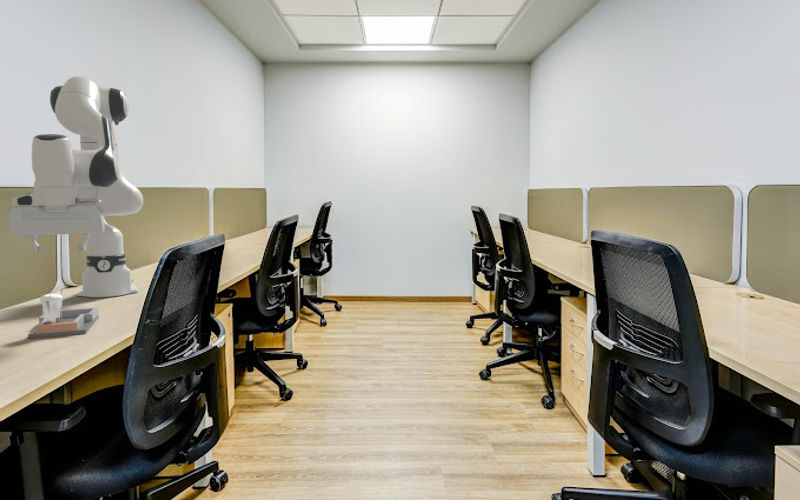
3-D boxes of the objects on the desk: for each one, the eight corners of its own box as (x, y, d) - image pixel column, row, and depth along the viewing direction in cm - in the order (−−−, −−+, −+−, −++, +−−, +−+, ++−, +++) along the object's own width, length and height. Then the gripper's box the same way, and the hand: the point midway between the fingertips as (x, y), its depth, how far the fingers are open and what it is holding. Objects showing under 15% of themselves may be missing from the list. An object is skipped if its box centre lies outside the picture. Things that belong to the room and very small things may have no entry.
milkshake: (71, 327, 126) (69, 288, 125) (51, 332, 121) (48, 292, 120) (59, 325, 128) (56, 287, 127) (38, 330, 123) (35, 291, 122)
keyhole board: (48, 321, 136) (47, 311, 135) (98, 317, 140) (97, 307, 140) (28, 338, 119) (27, 326, 119) (85, 333, 124) (85, 321, 124)
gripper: (105, 197, 132) (108, 248, 134) (12, 198, 124) (17, 251, 126) (101, 198, 126) (105, 251, 128) (3, 198, 119) (9, 255, 120)
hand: (61, 251), depth 127 cm, fingers open, 8 cm apart
